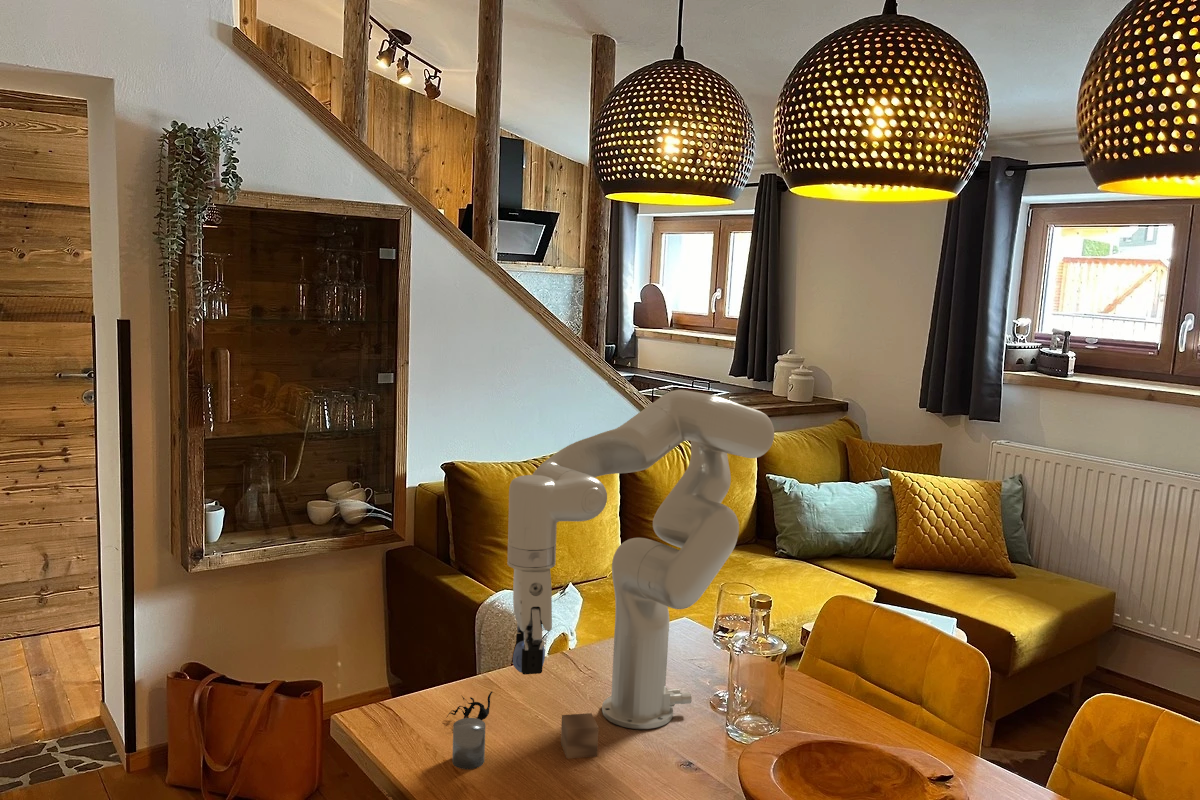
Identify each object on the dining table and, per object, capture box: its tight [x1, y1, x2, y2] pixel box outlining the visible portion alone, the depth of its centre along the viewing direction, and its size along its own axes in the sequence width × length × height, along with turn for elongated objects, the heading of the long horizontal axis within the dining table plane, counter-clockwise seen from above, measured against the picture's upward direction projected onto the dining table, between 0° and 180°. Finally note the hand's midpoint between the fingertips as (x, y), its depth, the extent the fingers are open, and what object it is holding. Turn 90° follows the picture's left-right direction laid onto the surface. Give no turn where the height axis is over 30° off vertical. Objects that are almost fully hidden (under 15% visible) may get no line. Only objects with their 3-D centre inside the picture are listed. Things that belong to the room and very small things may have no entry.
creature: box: [445, 691, 493, 721], centre depth 160 cm, size 8×5×8 cm
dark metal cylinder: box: [451, 717, 486, 770], centre depth 148 cm, size 5×5×6 cm
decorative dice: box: [512, 641, 546, 674], centre depth 149 cm, size 4×4×4 cm
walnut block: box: [560, 712, 599, 760], centre depth 153 cm, size 5×5×5 cm
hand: (528, 664), depth 149 cm, fingers closed on decorative dice, 5 cm apart
